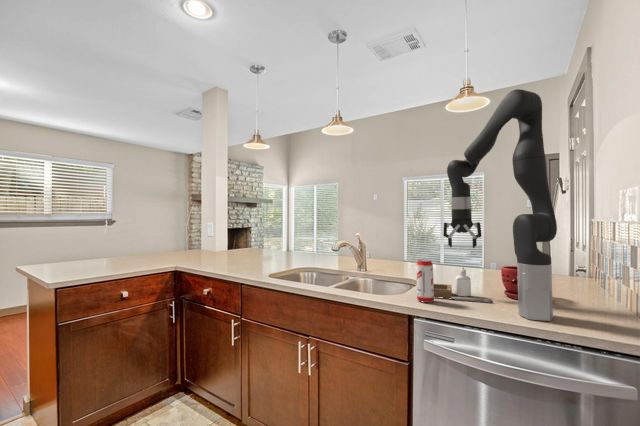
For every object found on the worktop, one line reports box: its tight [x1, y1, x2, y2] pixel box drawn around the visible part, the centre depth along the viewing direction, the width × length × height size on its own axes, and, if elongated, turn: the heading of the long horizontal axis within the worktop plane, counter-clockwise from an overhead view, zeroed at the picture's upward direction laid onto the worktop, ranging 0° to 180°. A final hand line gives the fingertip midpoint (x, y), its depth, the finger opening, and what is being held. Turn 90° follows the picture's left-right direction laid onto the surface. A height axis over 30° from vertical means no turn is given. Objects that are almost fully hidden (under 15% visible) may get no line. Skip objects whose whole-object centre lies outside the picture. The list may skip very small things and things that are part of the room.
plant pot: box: [500, 265, 518, 300], centre depth 125 cm, size 13×13×12 cm
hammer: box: [434, 283, 494, 304], centre depth 127 cm, size 12×24×4 cm, turn 66°
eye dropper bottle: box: [455, 266, 472, 297], centre depth 129 cm, size 4×6×12 cm
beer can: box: [415, 258, 435, 303], centre depth 122 cm, size 6×6×16 cm
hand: (462, 247), depth 129 cm, fingers open, 8 cm apart
